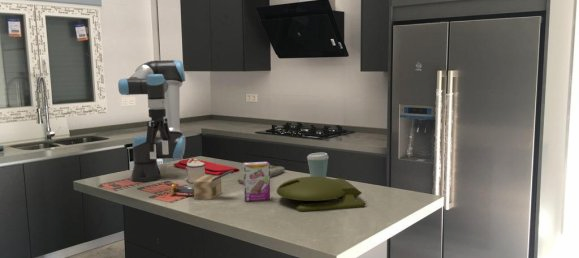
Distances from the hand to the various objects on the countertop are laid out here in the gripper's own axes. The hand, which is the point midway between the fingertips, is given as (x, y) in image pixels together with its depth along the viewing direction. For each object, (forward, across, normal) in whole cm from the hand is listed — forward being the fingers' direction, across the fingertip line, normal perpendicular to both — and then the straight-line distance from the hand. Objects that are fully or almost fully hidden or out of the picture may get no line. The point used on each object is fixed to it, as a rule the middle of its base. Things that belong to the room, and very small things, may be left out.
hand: (159, 156), depth 224 cm
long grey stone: (+18, +41, -36) cm, 57 cm away
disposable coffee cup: (+18, +33, -67) cm, 77 cm away
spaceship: (+19, +4, -73) cm, 75 cm away
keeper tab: (+8, 0, -31) cm, 32 cm away
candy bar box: (+18, 0, -47) cm, 50 cm away
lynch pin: (+18, 0, -13) cm, 22 cm away
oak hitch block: (+18, +2, -23) cm, 29 cm away
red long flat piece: (+19, +55, +3) cm, 58 cm away
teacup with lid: (+18, +27, -4) cm, 33 cm away
